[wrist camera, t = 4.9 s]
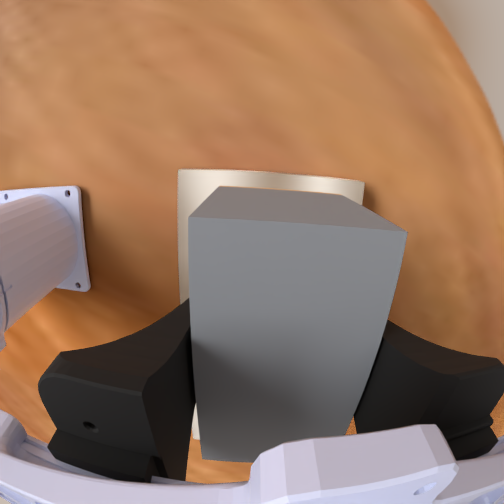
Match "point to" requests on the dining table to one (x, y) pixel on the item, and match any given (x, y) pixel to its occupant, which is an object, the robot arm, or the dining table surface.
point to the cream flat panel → (208, 180)
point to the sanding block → (284, 314)
